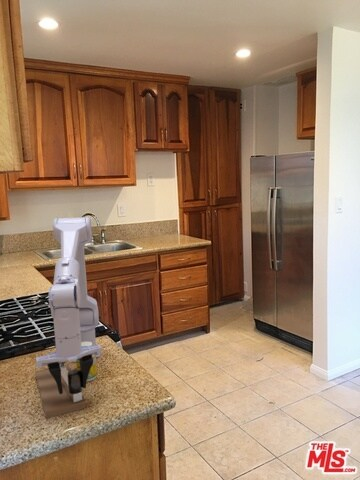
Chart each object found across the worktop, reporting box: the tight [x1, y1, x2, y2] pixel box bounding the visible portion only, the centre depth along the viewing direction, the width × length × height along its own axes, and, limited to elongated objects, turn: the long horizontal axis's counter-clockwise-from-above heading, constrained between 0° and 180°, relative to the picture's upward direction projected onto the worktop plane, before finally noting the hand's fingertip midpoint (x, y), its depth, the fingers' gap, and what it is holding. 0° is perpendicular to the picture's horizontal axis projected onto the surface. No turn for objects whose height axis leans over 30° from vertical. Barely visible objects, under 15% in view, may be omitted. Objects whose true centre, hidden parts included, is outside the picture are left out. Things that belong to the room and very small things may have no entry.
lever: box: [59, 361, 84, 402], centre depth 100 cm, size 20×4×6 cm, turn 30°
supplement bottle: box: [75, 341, 98, 383], centre depth 106 cm, size 5×5×10 cm
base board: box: [34, 363, 87, 419], centre depth 100 cm, size 22×9×2 cm, turn 26°
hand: (72, 389), depth 92 cm, fingers open, 5 cm apart
